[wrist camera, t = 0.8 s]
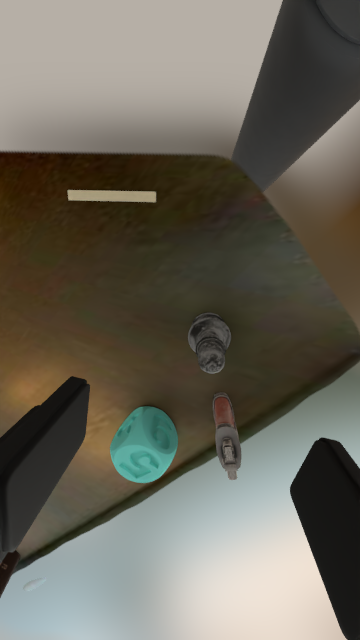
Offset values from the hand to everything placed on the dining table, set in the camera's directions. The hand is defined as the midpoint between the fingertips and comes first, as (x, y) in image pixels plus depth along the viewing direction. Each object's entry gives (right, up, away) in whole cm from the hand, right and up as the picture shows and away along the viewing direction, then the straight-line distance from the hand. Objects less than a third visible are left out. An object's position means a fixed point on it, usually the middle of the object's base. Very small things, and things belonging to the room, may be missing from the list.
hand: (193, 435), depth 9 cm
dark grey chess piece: (+4, +3, +24) cm, 25 cm away
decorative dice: (-6, -14, +31) cm, 34 cm away
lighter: (+7, -11, +28) cm, 31 cm away
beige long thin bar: (-10, +21, +19) cm, 30 cm away
